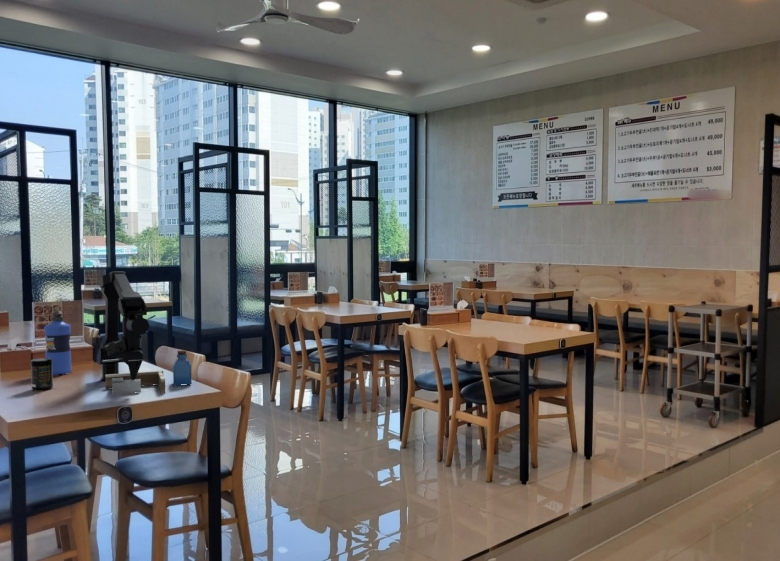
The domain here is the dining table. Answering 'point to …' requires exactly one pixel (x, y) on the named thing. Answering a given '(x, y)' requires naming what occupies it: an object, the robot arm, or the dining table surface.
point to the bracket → (125, 386)
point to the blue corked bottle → (182, 369)
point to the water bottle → (58, 344)
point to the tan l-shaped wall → (145, 378)
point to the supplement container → (41, 374)
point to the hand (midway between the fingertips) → (132, 377)
